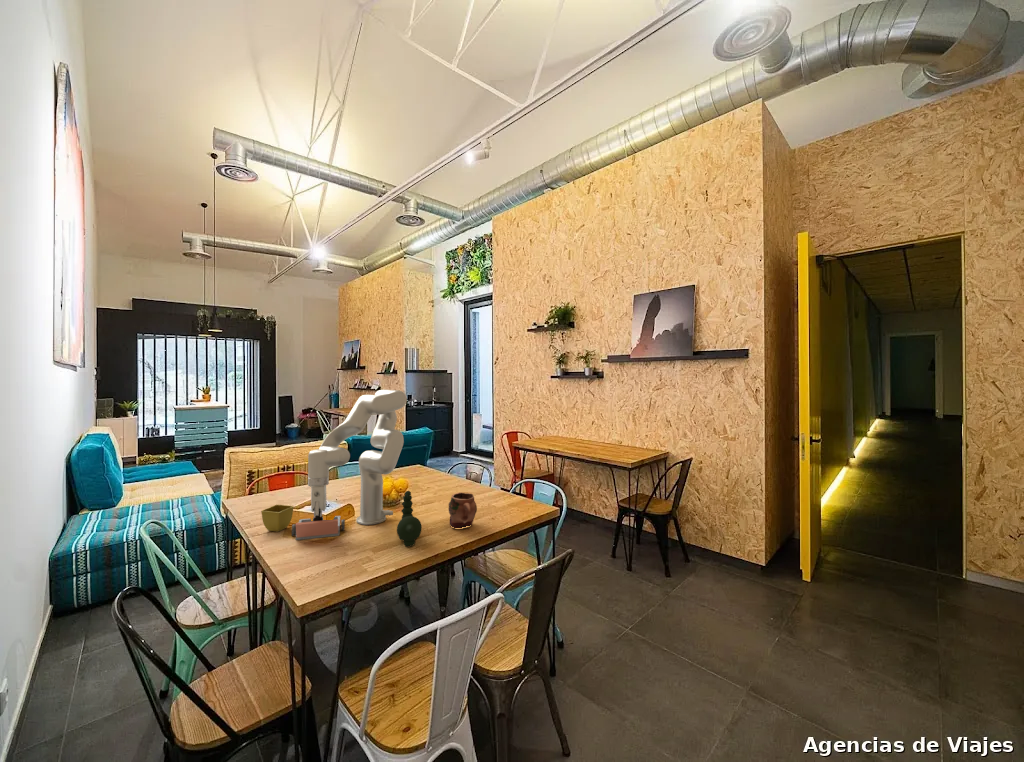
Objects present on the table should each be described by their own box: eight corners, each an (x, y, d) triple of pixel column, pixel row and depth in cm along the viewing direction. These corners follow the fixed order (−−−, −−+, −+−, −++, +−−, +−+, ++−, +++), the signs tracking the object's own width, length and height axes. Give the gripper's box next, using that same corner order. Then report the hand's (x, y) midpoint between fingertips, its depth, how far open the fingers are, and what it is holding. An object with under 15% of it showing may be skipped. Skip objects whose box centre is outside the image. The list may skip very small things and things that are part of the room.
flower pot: (278, 534, 173) (279, 512, 173) (260, 532, 174) (260, 510, 174) (293, 526, 181) (294, 505, 181) (276, 525, 183) (276, 504, 183)
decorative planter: (484, 532, 179) (485, 500, 179) (457, 537, 173) (458, 503, 173) (466, 518, 196) (466, 488, 196) (441, 522, 190) (441, 491, 190)
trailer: (295, 526, 181) (295, 516, 181) (344, 522, 188) (345, 512, 188) (290, 540, 166) (290, 529, 166) (344, 535, 173) (344, 524, 173)
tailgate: (296, 536, 167) (295, 523, 162) (338, 532, 172) (338, 518, 168) (295, 538, 166) (294, 525, 162) (338, 534, 171) (338, 521, 167)
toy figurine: (395, 534, 179) (397, 553, 155) (396, 489, 181) (397, 500, 157) (418, 532, 182) (423, 550, 158) (418, 488, 183) (423, 499, 159)
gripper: (327, 485, 162) (326, 532, 162) (329, 476, 176) (329, 519, 176) (305, 486, 160) (305, 534, 160) (310, 477, 174) (309, 521, 174)
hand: (317, 526), depth 168 cm, fingers closed
